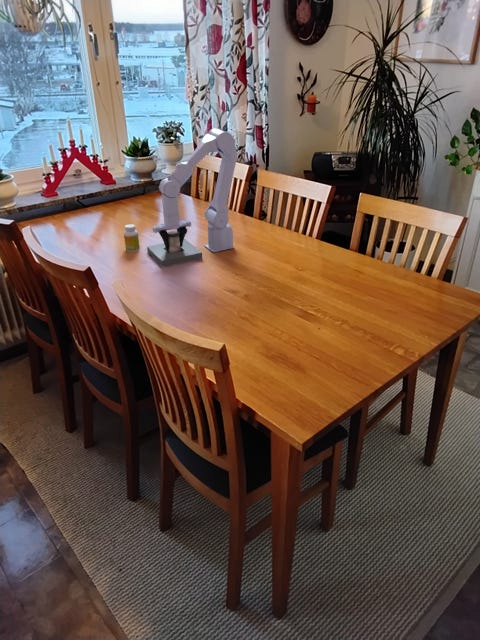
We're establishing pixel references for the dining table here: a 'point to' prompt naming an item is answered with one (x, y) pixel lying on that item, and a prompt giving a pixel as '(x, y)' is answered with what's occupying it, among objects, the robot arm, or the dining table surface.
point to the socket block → (174, 254)
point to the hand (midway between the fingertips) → (173, 247)
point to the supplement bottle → (131, 238)
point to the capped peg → (174, 242)
